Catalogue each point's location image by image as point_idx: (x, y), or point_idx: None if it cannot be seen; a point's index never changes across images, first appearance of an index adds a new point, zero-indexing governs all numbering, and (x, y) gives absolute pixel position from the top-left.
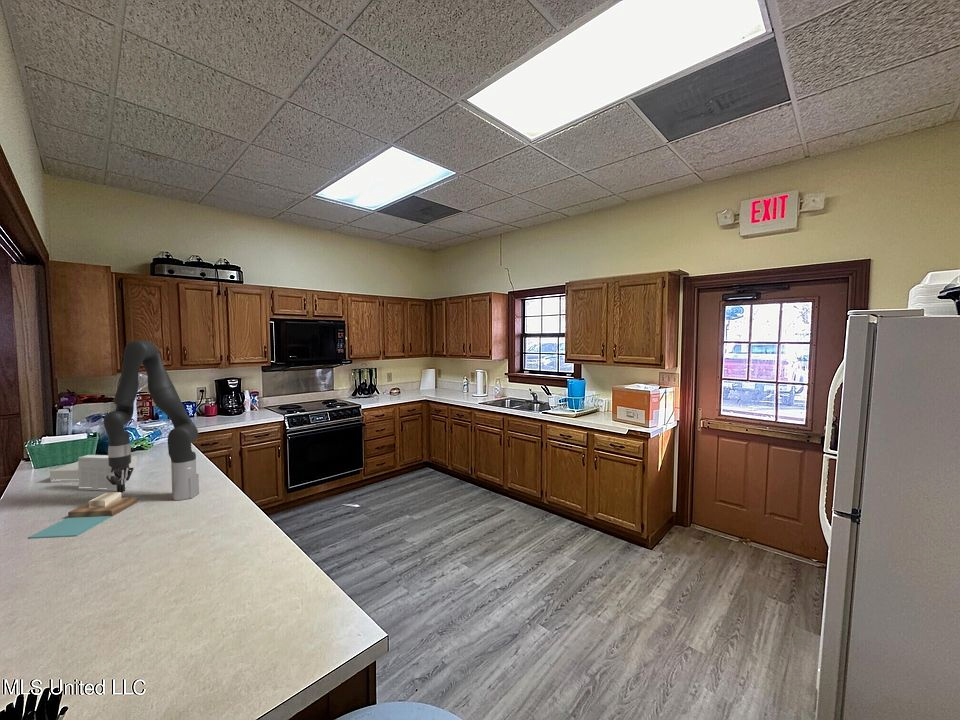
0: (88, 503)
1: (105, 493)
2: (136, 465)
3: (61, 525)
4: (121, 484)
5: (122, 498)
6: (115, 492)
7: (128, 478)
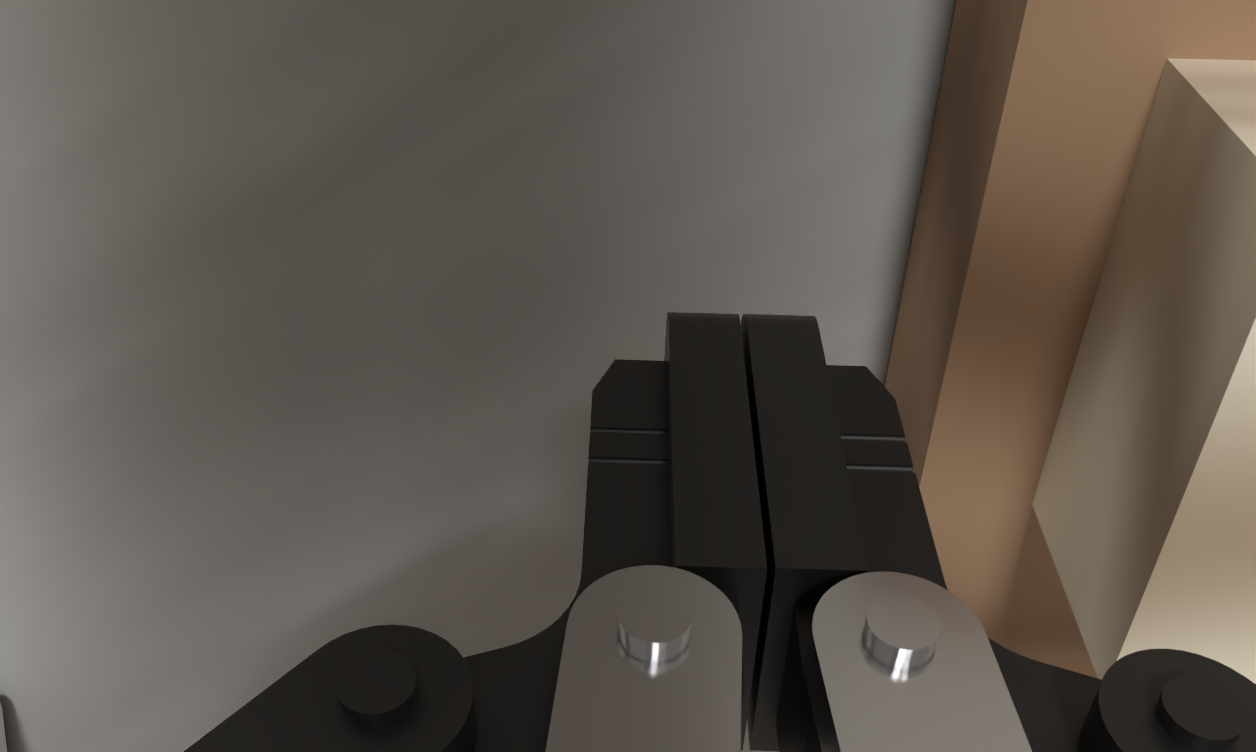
0: None
1: None
2: None
3: None
4: (945, 598)
5: (1116, 56)
6: (1216, 431)
7: (333, 726)
